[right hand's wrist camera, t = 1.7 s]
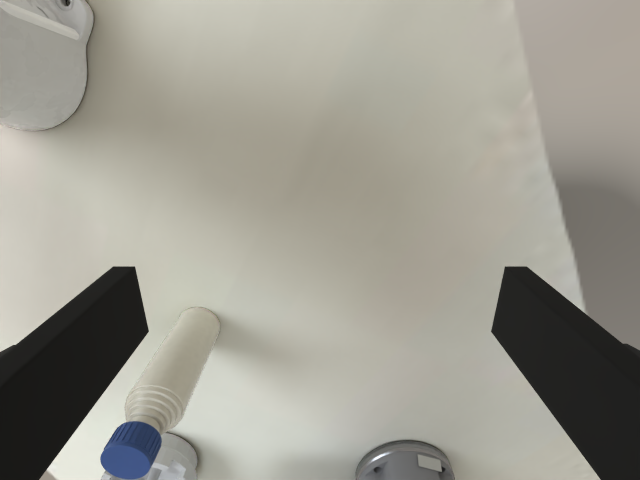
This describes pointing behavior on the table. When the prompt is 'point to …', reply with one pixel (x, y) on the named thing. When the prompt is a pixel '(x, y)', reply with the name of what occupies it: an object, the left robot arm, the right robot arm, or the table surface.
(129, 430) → the cap
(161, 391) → the bottle
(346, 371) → the table surface
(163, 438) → the flag stand
